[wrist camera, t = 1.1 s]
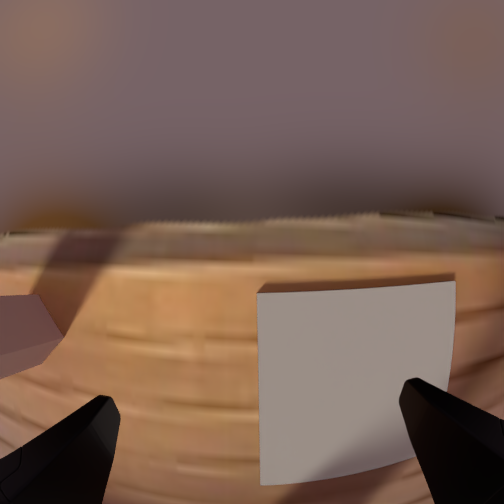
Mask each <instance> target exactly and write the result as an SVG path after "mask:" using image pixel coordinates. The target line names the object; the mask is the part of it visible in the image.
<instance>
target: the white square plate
mask: <svg viewBox="0 0 504 504" xmlns="http://www.w3.org/2000/svg"><path fill="white" fill-rule="evenodd" d="M455 302H456V282H455V281H445V282H435V283H424V284H413V285H401V286H388V287H374V288H359V289H342V290H323V291H300V292H272V293H257V326H258V377H259V435H260V485H280V484H292V483H302V482H310V481H317V480H324V479H330V478H336V477H341V476H347V475H351V474H356V473H360V472H365V471H369V470H373V469H377V468H380V467H384V466H388V465H391V464H394V463H398V462H401V461H404V460H407V459H410V458H413V457H416V454H415V452H414V449H413V447H412V444H411V442H410V439H409V436H408V432H407V429H406V425H405V422H404V419H403V416H402V412H401V409H400V406H399V396H400V394H401V391H402V388H403V385H404V382H405V381H406V380H407V379H411V378H415V377H418V378H420V379H422V380H424V381H426V382H428V383H430V384H432V385H434V386H436V387H438V388H440V389H442V390H443V391H445V392H447V388H448V382H449V375H450V368H451V361H452V352H453V341H454V327H455Z"/></svg>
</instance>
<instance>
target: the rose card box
mask: <svg viewBox="0 0 504 504" xmlns="http://www.w3.org/2000/svg"><path fill="white" fill-rule="evenodd" d="M63 338H64V337H63V335H62V334H61V332H60V330H59V329H58V327H57V326H56V324H55V323H54V321H53V319H52V318H51V316H50V314H49V313H48V311H47V309H46V307H45V306H44V304H43V302H42V300H41V299H40V297H39V295H38V294H37V295H12V296H0V379H2V378H5V377H7V376H10V375H13V374H16V373H18V372H21V371H24V370H27V369H29V368H32V367H35V366H37V365H40V364H42V362H43V361H44V360H45V359H46V358H47V357H48V355H49V354H50V353H51V352H52V351H53V350H54V349H55V347H56V346H57V345H58V344H59V343H60V342H61V341H62V339H63Z"/></svg>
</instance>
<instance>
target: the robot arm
mask: <svg viewBox="0 0 504 504" xmlns="http://www.w3.org/2000/svg"><path fill="white" fill-rule="evenodd" d="M399 406H400V409H401V412H402V416H403V419H404V422H405V425H406V429H407V432H408V436H409V439H410V442H411V444H412V447H413V449H414V452H415V454H416V456H417V459H418V461H419V464H420V466H421V469H422V471H423V474H424V476H425V479H426V482H427V484H428V487H429V489H430V492H431V495H432V498H433V500H434V503H435V504H504V420H502V419H499V418H498V417H496V416H494V415H492V414H490V413H488V412H486V411H484V410H481V409H479V408H477V407H475V406H473V405H471V404H469V403H467V402H465V401H463V400H461V399H459V398H457V397H455V396H453V395H451V394H449V393H447V392H445V391H443V390H442V389H440V388H438V387H436V386H434V385H432V384H430V383H428V382H426V381H424V380H422V379H420V378H418V377H415V378H411V379H407V380H406V381H405V382H404V385H403V388H402V391H401V394H400V396H399ZM119 425H120V413H119V411H118V409H117V407H116V405H115V403H114V401H113V399H112V398H111V397H110V396H104V395H98V396H97V397H95V398H94V399H92V400H91V401H89V402H88V403H87V404H85V405H84V406H82V407H81V408H79V409H78V410H76V411H75V412H73V413H72V414H70V415H69V416H67V417H66V418H64V419H63V420H61V421H60V422H58V423H57V424H55V425H54V426H52V427H51V428H49V429H48V430H46V431H45V432H43V433H42V434H40V435H39V436H37V437H36V438H34V439H32V440H31V441H29V442H28V443H26V444H25V445H23V447H20V448H18V449H17V450H15V451H14V452H12V453H10V454H9V455H7V456H5V457H3V458H1V459H0V504H102V501H103V497H104V493H105V489H106V485H107V482H108V478H109V474H110V471H111V467H112V463H113V459H114V454H115V448H116V442H117V436H118V431H119Z"/></svg>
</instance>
